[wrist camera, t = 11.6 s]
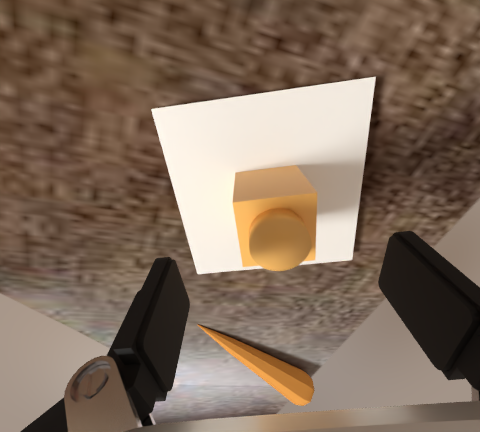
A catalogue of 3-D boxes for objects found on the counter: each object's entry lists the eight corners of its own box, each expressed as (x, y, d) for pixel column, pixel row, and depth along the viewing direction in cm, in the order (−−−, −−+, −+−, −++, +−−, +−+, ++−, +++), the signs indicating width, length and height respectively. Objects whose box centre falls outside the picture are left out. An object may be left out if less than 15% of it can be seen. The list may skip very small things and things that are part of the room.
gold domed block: (235, 172, 19) (231, 213, 12) (295, 165, 18) (325, 203, 12) (242, 224, 21) (242, 282, 14) (296, 218, 21) (322, 275, 14)
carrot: (309, 367, 36) (324, 393, 31) (292, 390, 36) (304, 419, 31) (206, 301, 32) (206, 319, 27) (187, 327, 32) (184, 349, 27)
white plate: (156, 108, 18) (122, 113, 13) (367, 77, 17) (421, 69, 12) (199, 266, 25) (188, 309, 20) (347, 252, 24) (374, 294, 19)
